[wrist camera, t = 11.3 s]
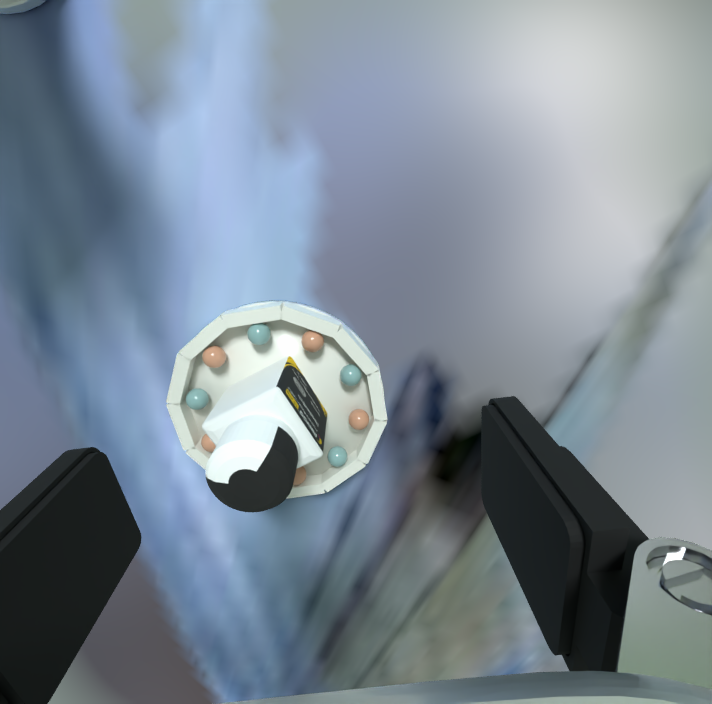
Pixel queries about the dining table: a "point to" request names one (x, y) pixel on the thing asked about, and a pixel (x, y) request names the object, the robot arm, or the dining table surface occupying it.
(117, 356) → the dining table surface
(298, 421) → the medicine bottle
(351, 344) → the tray
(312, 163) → the dining table surface
